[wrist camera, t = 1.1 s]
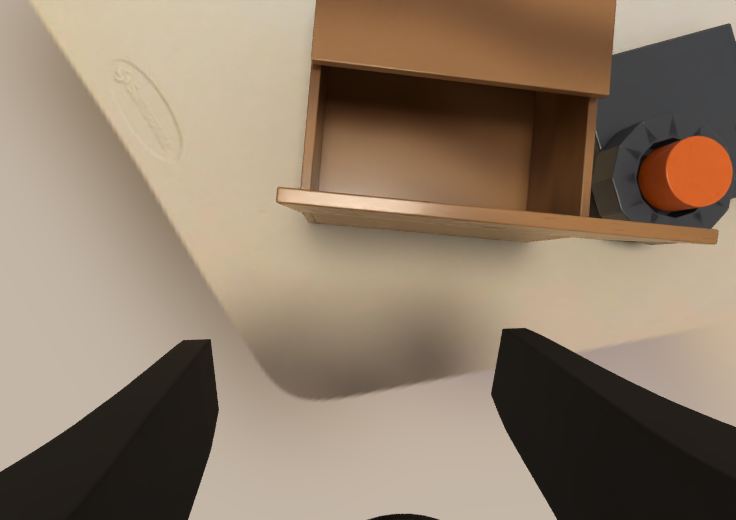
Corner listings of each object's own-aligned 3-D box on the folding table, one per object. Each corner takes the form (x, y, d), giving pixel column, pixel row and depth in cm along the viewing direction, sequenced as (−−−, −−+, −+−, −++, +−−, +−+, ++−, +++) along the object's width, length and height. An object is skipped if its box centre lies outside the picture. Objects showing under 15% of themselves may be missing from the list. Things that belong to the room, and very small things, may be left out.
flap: (597, 229, 16) (596, 239, 16) (298, 200, 15) (297, 211, 15) (719, 229, 11) (717, 244, 11) (276, 186, 10) (276, 202, 10)
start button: (706, 201, 20) (741, 195, 19) (647, 219, 20) (677, 215, 18) (688, 139, 20) (722, 127, 18) (629, 156, 20) (657, 146, 18)
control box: (758, 207, 23) (820, 198, 20) (595, 257, 23) (634, 256, 20) (709, 35, 23) (764, 2, 20) (544, 80, 22) (575, 52, 19)
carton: (527, 242, 22) (600, 234, 16) (308, 222, 21) (296, 205, 15) (543, 45, 22) (621, -39, 16) (326, 17, 22) (321, -82, 15)
